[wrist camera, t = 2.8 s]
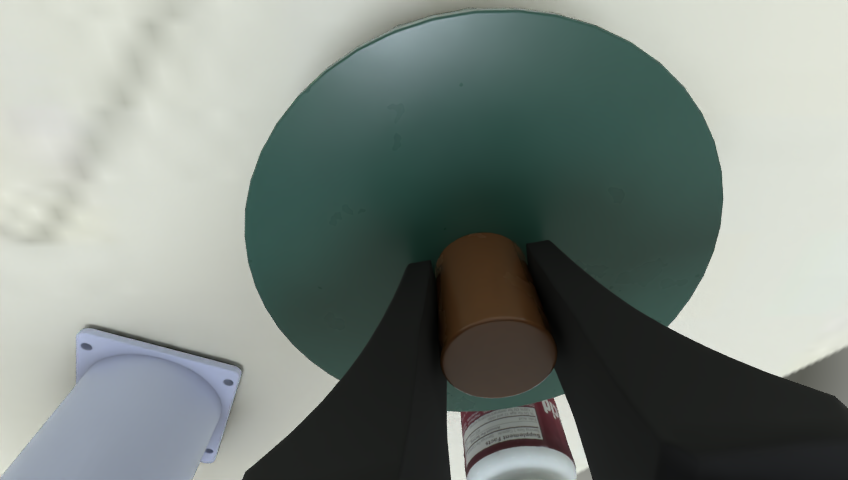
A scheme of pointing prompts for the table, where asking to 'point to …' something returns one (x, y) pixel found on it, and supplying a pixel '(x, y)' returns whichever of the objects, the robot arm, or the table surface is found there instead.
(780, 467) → the robot arm
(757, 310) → the table surface
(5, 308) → the table surface
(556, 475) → the pill bottle
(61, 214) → the table surface
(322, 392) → the table surface
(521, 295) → the pan lid
